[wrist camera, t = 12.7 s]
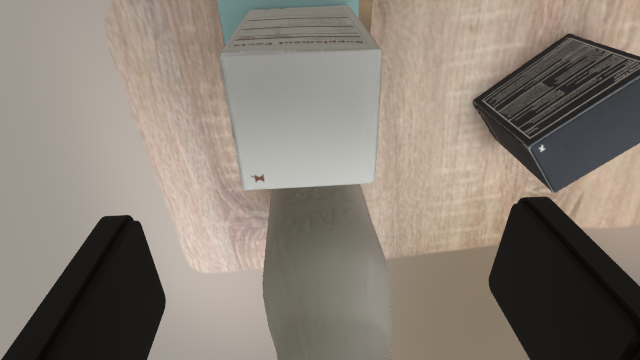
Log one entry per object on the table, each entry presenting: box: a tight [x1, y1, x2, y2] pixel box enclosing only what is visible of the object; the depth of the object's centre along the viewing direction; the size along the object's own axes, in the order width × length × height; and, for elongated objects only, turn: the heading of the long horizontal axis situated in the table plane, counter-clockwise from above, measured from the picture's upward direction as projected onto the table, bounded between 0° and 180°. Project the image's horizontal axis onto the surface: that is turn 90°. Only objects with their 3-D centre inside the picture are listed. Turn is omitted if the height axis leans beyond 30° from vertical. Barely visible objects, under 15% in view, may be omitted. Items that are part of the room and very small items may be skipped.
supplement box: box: [219, 5, 382, 190], centre depth 23 cm, size 7×7×13 cm
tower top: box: [217, 0, 359, 46], centre depth 30 cm, size 10×10×4 cm
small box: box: [473, 34, 640, 193], centre depth 34 cm, size 11×6×10 cm, turn 129°
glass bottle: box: [263, 184, 391, 360], centre depth 30 cm, size 10×10×28 cm
